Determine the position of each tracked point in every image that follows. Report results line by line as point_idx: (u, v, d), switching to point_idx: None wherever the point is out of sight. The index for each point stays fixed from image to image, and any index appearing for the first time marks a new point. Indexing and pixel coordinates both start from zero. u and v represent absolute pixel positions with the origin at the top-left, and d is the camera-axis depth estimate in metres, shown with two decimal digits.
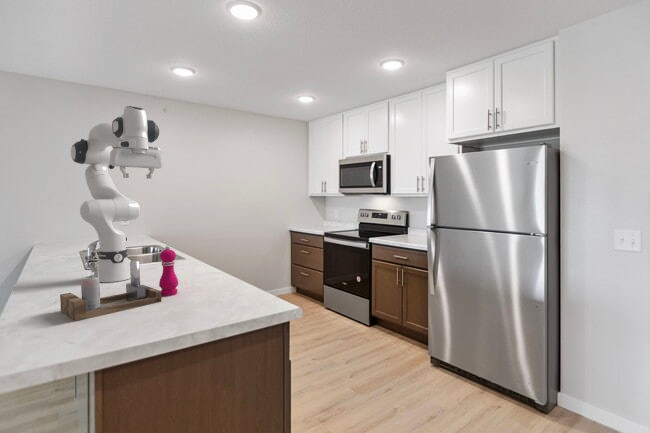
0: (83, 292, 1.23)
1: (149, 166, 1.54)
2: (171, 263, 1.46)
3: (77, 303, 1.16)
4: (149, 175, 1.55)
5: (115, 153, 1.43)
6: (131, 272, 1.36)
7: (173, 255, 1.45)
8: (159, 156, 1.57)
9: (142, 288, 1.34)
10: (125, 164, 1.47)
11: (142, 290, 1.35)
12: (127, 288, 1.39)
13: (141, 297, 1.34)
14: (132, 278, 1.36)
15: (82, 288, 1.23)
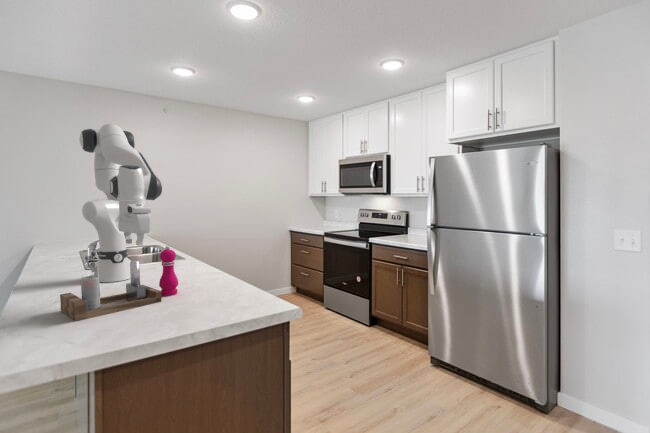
0: (83, 292, 1.23)
1: None
2: (171, 263, 1.46)
3: (77, 303, 1.16)
4: None
5: None
6: (131, 272, 1.36)
7: (173, 255, 1.45)
8: None
9: (142, 288, 1.34)
10: None
11: (142, 290, 1.35)
12: (127, 288, 1.39)
13: (141, 297, 1.34)
14: (132, 278, 1.36)
15: (82, 288, 1.23)
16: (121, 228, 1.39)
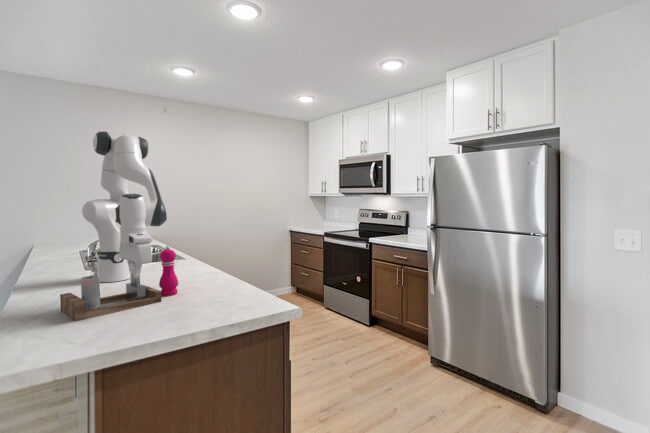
0: (83, 292, 1.23)
1: None
2: (171, 263, 1.46)
3: (77, 303, 1.16)
4: None
5: None
6: (131, 272, 1.36)
7: (173, 255, 1.45)
8: None
9: (142, 288, 1.34)
10: None
11: (142, 290, 1.35)
12: (127, 288, 1.39)
13: (141, 297, 1.34)
14: (132, 278, 1.36)
15: (82, 288, 1.23)
16: (122, 256, 1.40)
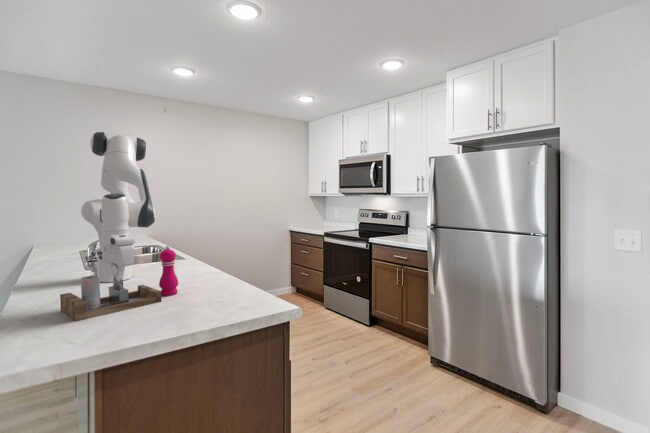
0: (83, 292, 1.23)
1: None
2: (171, 263, 1.46)
3: (77, 303, 1.16)
4: None
5: (133, 251, 1.28)
6: (113, 275, 1.31)
7: (173, 255, 1.45)
8: None
9: (125, 291, 1.30)
10: None
11: (125, 293, 1.30)
12: (110, 291, 1.34)
13: (124, 301, 1.30)
14: (114, 281, 1.31)
15: (82, 288, 1.23)
16: (105, 258, 1.35)
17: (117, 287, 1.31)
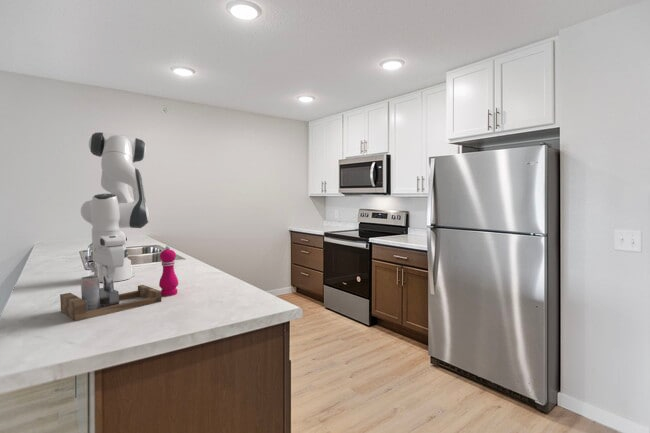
0: (83, 292, 1.23)
1: None
2: (171, 263, 1.46)
3: (77, 303, 1.16)
4: None
5: (124, 252, 1.25)
6: (104, 276, 1.29)
7: (173, 255, 1.45)
8: None
9: (115, 293, 1.27)
10: None
11: (115, 295, 1.27)
12: (100, 293, 1.32)
13: (114, 303, 1.27)
14: (104, 283, 1.29)
15: (82, 288, 1.23)
16: (95, 259, 1.32)
17: (107, 289, 1.29)
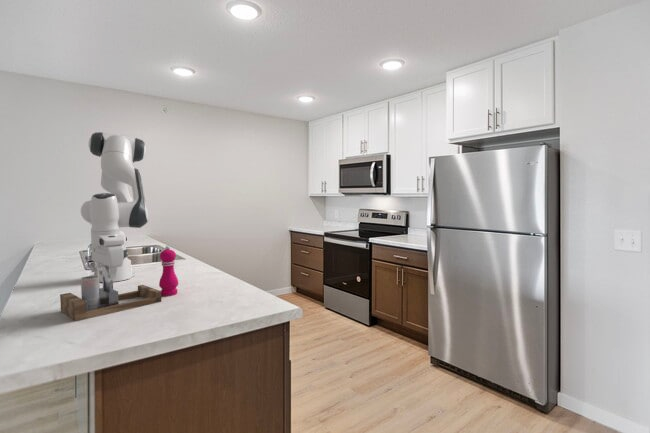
0: (83, 292, 1.23)
1: None
2: (171, 263, 1.46)
3: (77, 303, 1.16)
4: None
5: (123, 252, 1.25)
6: (103, 276, 1.28)
7: (173, 255, 1.45)
8: None
9: (114, 293, 1.27)
10: None
11: (115, 295, 1.27)
12: (100, 293, 1.31)
13: (113, 303, 1.27)
14: (104, 283, 1.28)
15: (82, 288, 1.23)
16: (94, 259, 1.32)
17: (107, 289, 1.29)
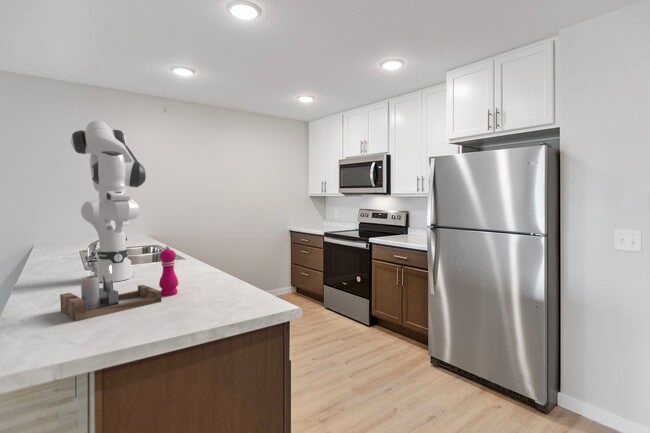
0: (83, 292, 1.23)
1: None
2: (171, 263, 1.46)
3: (77, 303, 1.16)
4: None
5: (129, 208, 1.30)
6: (103, 276, 1.28)
7: (173, 255, 1.45)
8: None
9: (114, 293, 1.27)
10: None
11: (115, 295, 1.27)
12: (100, 293, 1.31)
13: (113, 303, 1.27)
14: (104, 283, 1.28)
15: (82, 288, 1.23)
16: (101, 215, 1.37)
17: (107, 289, 1.29)
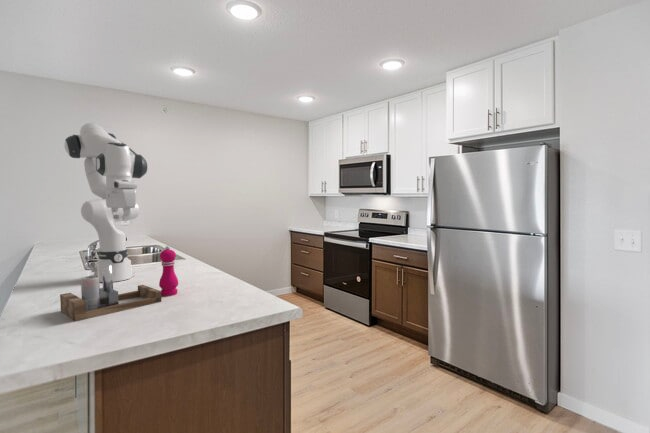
0: (83, 292, 1.23)
1: None
2: (171, 263, 1.46)
3: (77, 303, 1.16)
4: None
5: (135, 195, 1.36)
6: (103, 276, 1.28)
7: (173, 255, 1.45)
8: None
9: (114, 293, 1.27)
10: None
11: (115, 295, 1.27)
12: (100, 293, 1.31)
13: (113, 303, 1.27)
14: (104, 283, 1.28)
15: (82, 288, 1.23)
16: (108, 204, 1.43)
17: (107, 289, 1.29)
